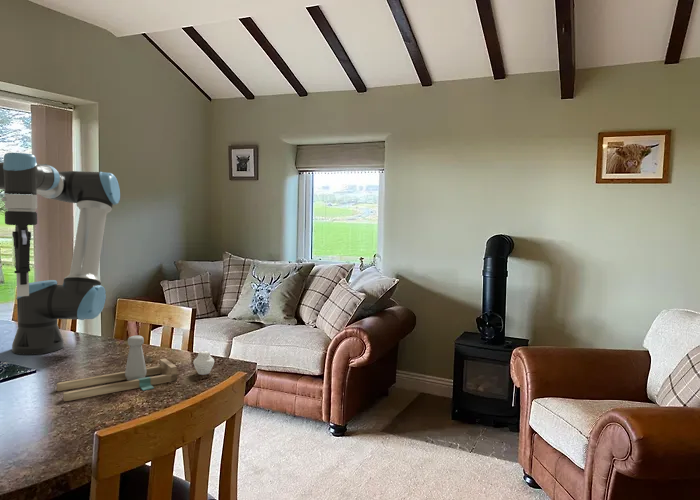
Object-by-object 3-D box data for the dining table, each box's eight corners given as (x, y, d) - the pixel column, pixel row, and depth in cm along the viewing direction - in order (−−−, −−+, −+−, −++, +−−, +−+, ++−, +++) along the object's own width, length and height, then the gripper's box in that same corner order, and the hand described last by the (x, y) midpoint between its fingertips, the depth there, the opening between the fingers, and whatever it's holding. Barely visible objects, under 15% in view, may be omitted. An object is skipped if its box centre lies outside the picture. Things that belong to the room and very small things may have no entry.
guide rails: (55, 386, 142) (54, 372, 142) (161, 368, 160) (161, 355, 160) (66, 405, 129) (66, 389, 129) (180, 383, 148) (180, 369, 147)
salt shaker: (141, 384, 145) (140, 339, 144) (121, 383, 146) (120, 338, 145) (150, 378, 151) (150, 334, 150) (131, 377, 152) (130, 333, 151)
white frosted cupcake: (216, 374, 156) (216, 352, 155) (195, 377, 153) (196, 354, 152) (211, 368, 161) (211, 346, 161) (191, 371, 158) (191, 349, 158)
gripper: (2, 209, 144) (4, 293, 146) (7, 210, 134) (9, 300, 136) (33, 210, 149) (35, 291, 151) (40, 211, 139) (42, 298, 141)
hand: (23, 295), depth 143 cm, fingers closed
